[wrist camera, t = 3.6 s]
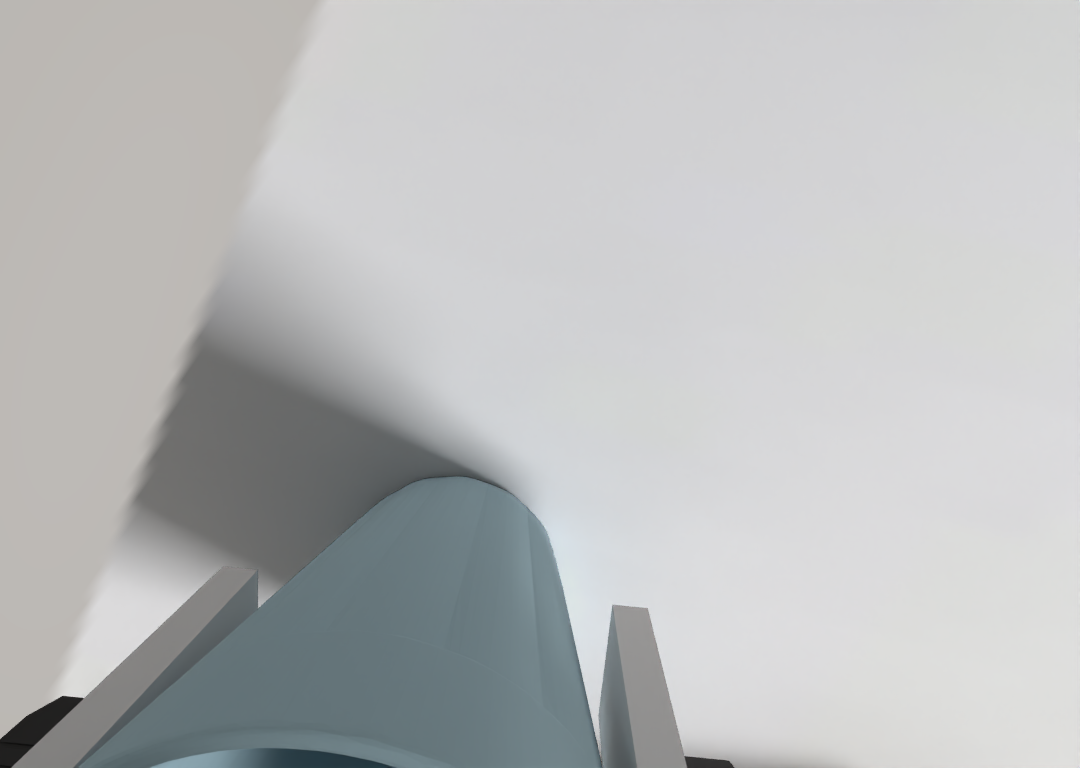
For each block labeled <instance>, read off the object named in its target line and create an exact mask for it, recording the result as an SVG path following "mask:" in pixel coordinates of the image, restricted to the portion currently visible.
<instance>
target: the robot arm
mask: <svg viewBox="0 0 1080 768" xmlns="http://www.w3.org/2000/svg"><path fill="white" fill-rule="evenodd" d="M257 609H258V570H254V569H244V568H234V567H224V566H223V567H222V568H221V569H220V570H219V571H218V572H217V573H216V574H215V575H214V576H213V577H211V578H210V579H209V580H208V581H207V582H206V583H205V584H204V585H203V586H202V587H201V588H200V589H199V590H198V591H197V592H196V593H195V594H194V595H193V596H191V597H190V598H189V599H188V600H187V601H186V602H185V603H184V604H183V605H182V606H181V607H180V608H179V609H178V610H177V611H176V612H175V613H174V614H173V615H171V616H170V617H169V618H168V619H167V620H166V621H165V622H164V623H163V624H162V625H161V626H160V627H159V628H158V629H157V630H156V631H155V632H154V633H152V634H151V635H150V636H149V637H148V638H147V639H146V640H145V641H144V642H143V643H142V644H141V645H140V646H139V647H138V648H137V649H136V650H135V651H134V652H132V653H131V654H130V655H129V656H128V657H127V658H126V659H125V660H124V661H123V662H122V663H121V664H120V665H119V666H118V667H117V668H116V669H115V670H114V671H112V672H111V673H110V674H109V675H108V676H107V677H106V678H105V679H104V680H103V681H102V682H101V683H100V684H99V685H98V686H97V687H96V688H95V689H94V690H92V691H91V692H90V693H89V694H88V695H87V696H86V697H85V698H78V697H68V696H62V697H60V698H58V699H56V700H55V701H53V702H51V703H49V704H47V705H46V706H44V707H42V708H40V709H39V710H37V711H35V712H33V713H32V714H29V715H28V716H26V717H25V718H24V719H23V720H22V721H20V722H19V723H18V724H17V725H16V726H15V727H14V728H12V729H11V730H10V731H9V732H8V733H7V734H6V735H4V736H3V737H2V738H1V739H0V768H78V767H79V766H80V765H81V764H82V763H84V762H85V761H86V760H87V759H88V758H89V757H90V756H92V755H93V754H94V753H95V752H96V751H97V750H98V749H99V748H101V747H102V746H103V745H104V744H105V743H106V742H107V741H109V740H110V739H111V738H112V737H113V736H114V735H115V734H116V733H118V732H119V731H120V730H121V729H122V728H123V727H124V726H125V725H127V724H128V723H129V722H130V721H131V720H132V719H133V718H135V717H136V716H137V715H138V714H139V713H140V712H141V711H142V710H144V709H145V708H146V707H147V706H148V705H149V704H150V703H151V702H153V701H154V700H155V699H156V698H157V697H158V696H159V695H161V694H162V693H163V692H164V691H165V690H166V689H168V688H169V687H170V686H171V685H172V684H174V683H175V682H176V681H177V680H178V679H179V678H181V677H182V676H183V675H184V674H185V673H186V672H187V671H188V670H190V669H191V668H192V667H193V666H194V665H195V664H196V663H198V662H199V661H200V660H201V659H202V658H203V657H204V656H205V655H207V654H208V653H209V652H210V651H211V650H212V649H213V648H214V647H216V646H217V645H218V644H219V643H220V642H221V641H222V640H223V639H225V638H226V637H227V636H228V635H229V634H230V633H231V632H232V631H234V630H235V629H236V628H237V627H238V626H239V625H240V624H241V623H243V622H244V621H245V620H246V619H247V618H248V617H249V616H250V615H252V614H253V613H254V612H255V611H256V610H257ZM599 727H600V739H601V750H602V762H603V768H734V767H733V765H732V764H731V763H730V762H729V761H726V760H716V759H706V758H696V757H686V756H684V753H683V749H682V745H681V741H680V737H679V733H678V729H677V725H676V721H675V717H674V713H673V709H672V705H671V701H670V697H669V692H668V688H667V684H666V680H665V676H664V672H663V668H662V664H661V660H660V656H659V652H658V648H657V644H656V640H655V636H654V632H653V628H652V624H651V620H650V616H649V612H648V608H639V607H629V606H619V605H612V613H611V621H610V629H609V636H608V644H607V652H606V660H605V668H604V676H603V684H602V691H601V699H600V707H599Z"/></svg>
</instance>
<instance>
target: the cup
mask: <svg viewBox="0 0 1080 768" xmlns="http://www.w3.org/2000/svg"><path fill="white" fill-rule="evenodd" d="M78 768H602V764H601V759H600V755H599V750H598V746H597V741H596V737H595V732H594V727H593V723H592V718H591V714H590V709H589V705H588V700H587V696H586V691H585V687H584V682H583V678H582V673H581V669H580V664H579V659H578V655H577V650H576V646H575V641H574V637H573V632H572V628H571V623H570V619H569V614H568V610H567V605H566V601H565V596H564V591H563V587H562V583H561V579H560V575H559V571H558V567H557V563H556V560H555V557H554V552H553V549H552V546H551V543H550V540H549V537H548V534H547V532H546V530H545V528H544V526H543V525H542V523H541V522H540V521H539V520H538V519H537V517H536V516H535V515H534V514H533V513H532V512H531V511H530V510H529V509H528V508H527V507H526V506H525V505H524V504H523V503H521V502H520V501H519V500H518V499H517V498H516V497H515V496H513V495H512V494H510V493H509V492H507V491H505V490H503V489H501V488H498V487H496V486H493V485H491V484H488V483H485V482H482V481H479V480H476V479H473V478H468V477H458V476H453V477H439V478H428V479H422V480H419V481H415V482H413V483H411V484H408V485H407V486H405V487H404V488H402V489H400V490H398V491H396V492H394V493H392V494H391V495H389V496H387V497H386V498H384V499H383V500H381V501H380V502H379V503H378V504H376V505H375V506H374V507H373V508H371V509H370V510H369V511H368V512H367V513H366V514H364V515H363V516H362V517H361V518H360V519H359V520H358V521H356V522H355V523H354V524H353V525H352V526H351V527H350V528H348V529H347V530H346V531H345V532H344V533H343V534H342V535H341V536H339V537H338V538H337V539H336V540H335V541H334V542H333V543H332V544H330V545H329V546H328V547H327V548H326V549H325V550H324V551H322V552H321V553H320V554H319V555H318V556H317V557H316V558H315V559H313V560H312V561H311V562H310V563H309V564H308V565H307V566H306V567H304V568H303V569H302V570H301V571H300V572H299V573H298V574H297V575H295V576H294V577H293V578H292V579H291V580H290V581H289V582H288V583H286V584H285V585H284V586H283V587H282V588H281V589H280V590H279V591H277V592H276V593H275V594H274V595H273V596H272V597H271V598H270V599H268V600H267V601H266V602H265V603H264V604H263V605H262V606H261V607H259V608H258V609H257V610H256V611H255V612H254V613H253V614H252V615H250V616H249V617H248V618H247V619H246V620H245V621H244V622H243V623H241V624H240V625H239V626H238V627H237V628H236V629H235V630H234V631H232V632H231V633H230V634H229V635H228V636H227V637H226V638H225V639H223V640H222V641H221V642H220V643H219V644H218V645H217V646H216V647H214V648H213V649H212V650H211V651H210V652H209V653H208V654H207V655H205V656H204V657H203V658H202V659H201V660H200V661H199V662H198V663H196V664H195V665H194V666H193V667H192V668H191V669H190V670H188V671H187V672H186V673H185V674H184V675H183V676H182V677H181V678H179V679H178V680H177V681H176V682H175V683H174V684H172V685H171V686H170V687H169V688H168V689H166V690H165V691H164V692H163V693H162V694H161V695H159V696H158V697H157V698H156V699H155V700H154V701H153V702H151V703H150V704H149V705H148V706H147V707H146V708H145V709H144V710H142V711H141V712H140V713H139V714H138V715H137V716H136V717H135V718H133V719H132V720H131V721H130V722H129V723H128V724H127V725H125V726H124V727H123V728H122V729H121V730H120V731H119V732H118V733H116V734H115V735H114V736H113V737H112V738H111V739H110V740H109V741H107V742H106V743H105V744H104V745H103V746H102V747H101V748H99V749H98V750H97V751H96V752H95V753H94V754H93V755H92V756H90V757H89V758H88V759H87V760H86V761H85V762H84V763H82V764H81V765H80V766H79V767H78Z"/></svg>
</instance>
